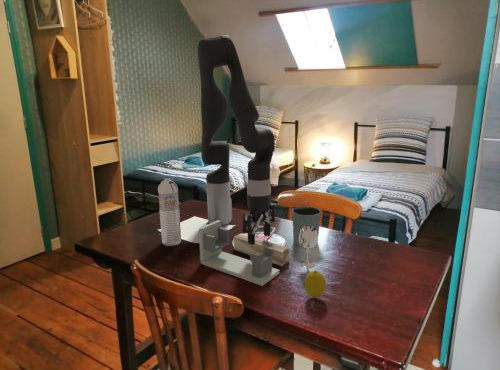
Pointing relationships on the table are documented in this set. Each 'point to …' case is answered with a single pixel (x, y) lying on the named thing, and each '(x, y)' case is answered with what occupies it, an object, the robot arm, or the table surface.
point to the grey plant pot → (304, 220)
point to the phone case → (270, 233)
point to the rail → (261, 248)
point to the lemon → (315, 284)
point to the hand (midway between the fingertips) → (259, 239)
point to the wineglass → (308, 242)
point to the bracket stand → (214, 257)
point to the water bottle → (169, 212)
